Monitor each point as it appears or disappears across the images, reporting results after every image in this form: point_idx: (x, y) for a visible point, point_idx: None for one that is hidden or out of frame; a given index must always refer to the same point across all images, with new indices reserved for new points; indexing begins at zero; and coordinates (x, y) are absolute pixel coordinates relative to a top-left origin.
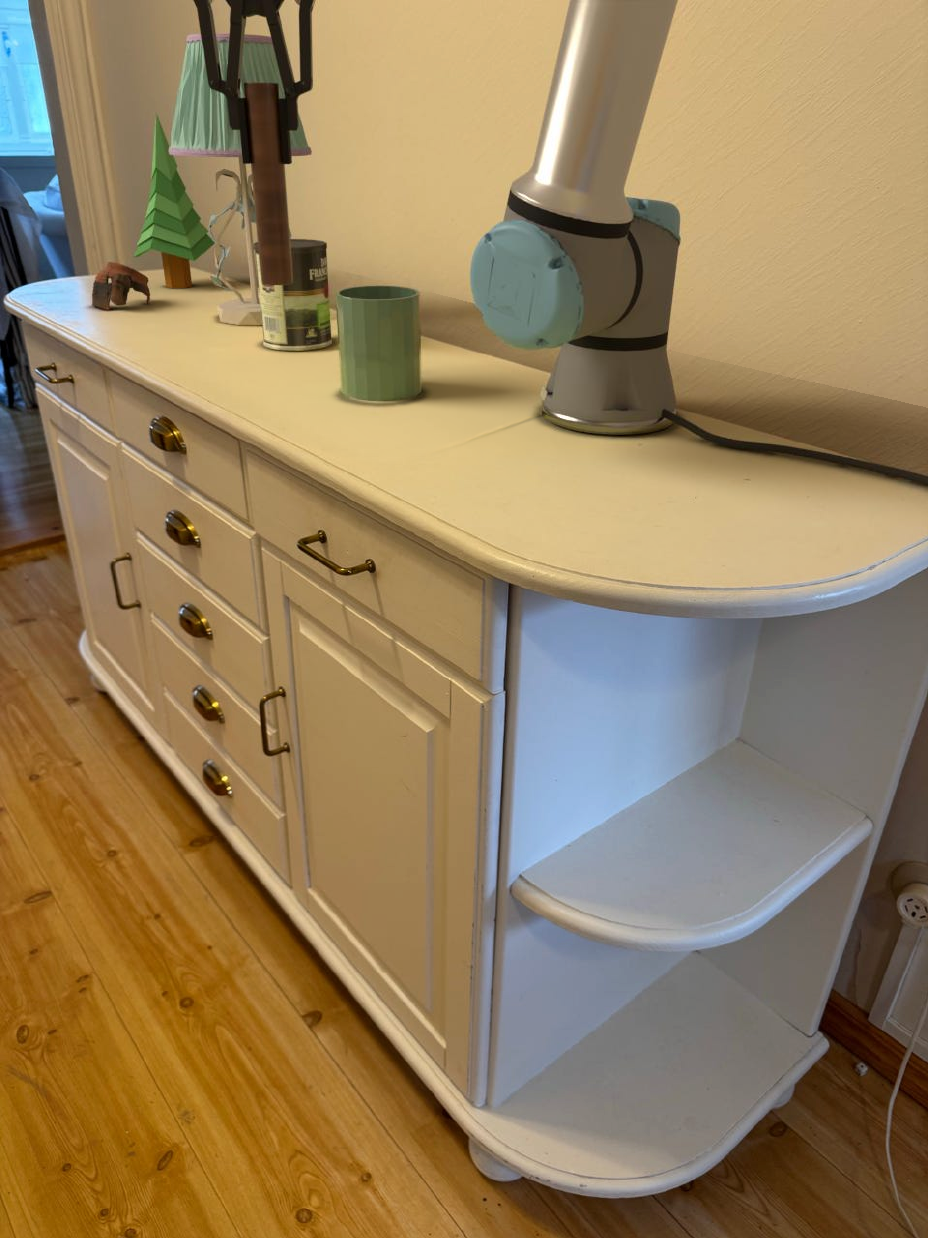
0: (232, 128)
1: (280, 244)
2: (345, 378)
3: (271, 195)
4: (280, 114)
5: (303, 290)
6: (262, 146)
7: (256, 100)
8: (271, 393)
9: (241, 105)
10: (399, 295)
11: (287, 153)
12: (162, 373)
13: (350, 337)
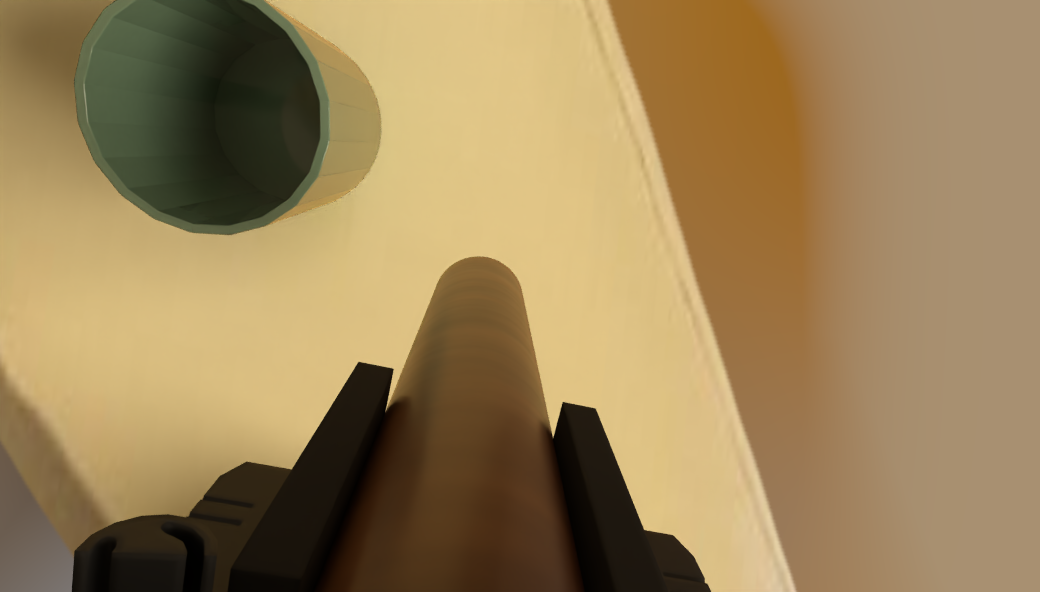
0: (670, 540)
1: (460, 281)
2: (367, 92)
3: (472, 319)
4: (326, 497)
5: None
6: (494, 397)
7: (514, 564)
8: (518, 187)
9: (637, 589)
10: (144, 188)
11: (355, 382)
12: (705, 389)
13: (330, 54)
